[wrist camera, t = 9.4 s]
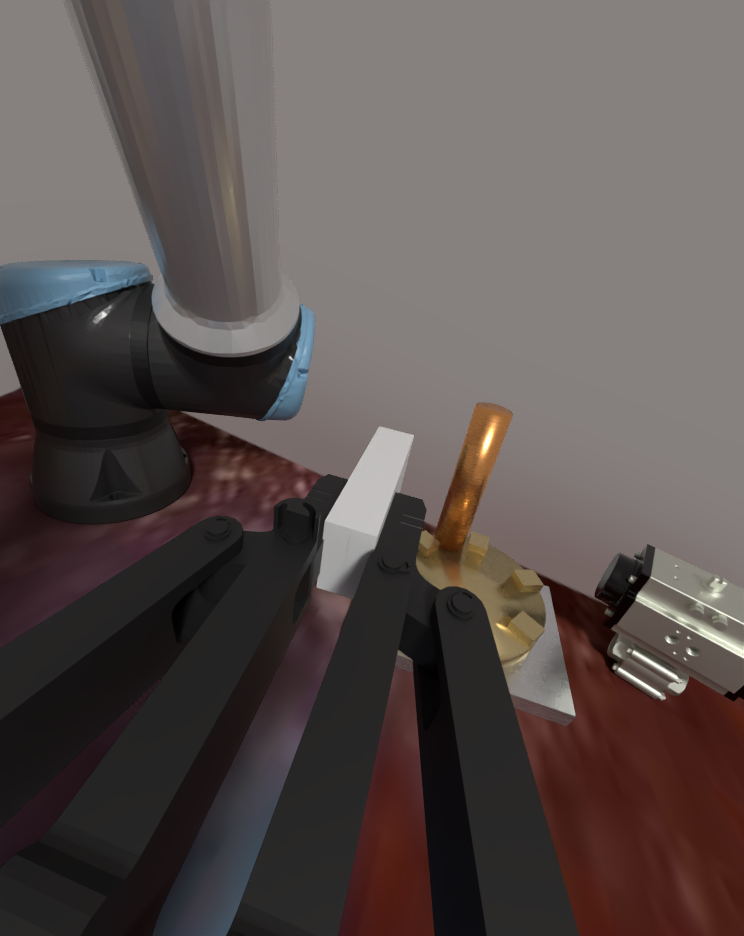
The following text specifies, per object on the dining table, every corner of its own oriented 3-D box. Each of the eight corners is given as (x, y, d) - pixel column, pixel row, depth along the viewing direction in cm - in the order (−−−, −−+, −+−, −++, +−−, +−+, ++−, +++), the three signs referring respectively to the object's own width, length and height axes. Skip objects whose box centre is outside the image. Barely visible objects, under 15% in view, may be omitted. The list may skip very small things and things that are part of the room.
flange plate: (341, 647, 31) (343, 636, 30) (378, 546, 42) (380, 536, 41) (567, 726, 28) (575, 716, 28) (543, 596, 39) (548, 586, 39)
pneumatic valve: (573, 617, 38) (635, 524, 32) (714, 701, 32) (821, 609, 26) (559, 654, 34) (626, 556, 28) (717, 758, 28) (844, 664, 22)
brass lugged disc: (377, 551, 39) (412, 395, 30) (492, 552, 41) (554, 409, 33) (408, 683, 27) (478, 494, 19) (562, 672, 30) (685, 503, 22)
